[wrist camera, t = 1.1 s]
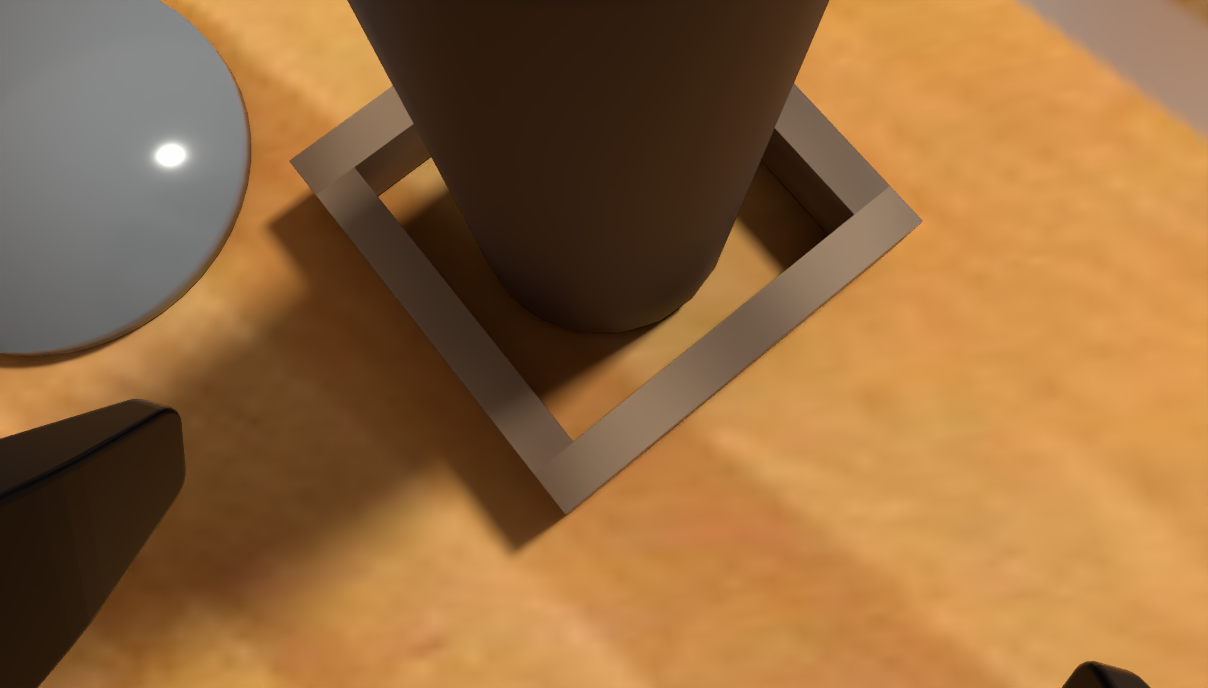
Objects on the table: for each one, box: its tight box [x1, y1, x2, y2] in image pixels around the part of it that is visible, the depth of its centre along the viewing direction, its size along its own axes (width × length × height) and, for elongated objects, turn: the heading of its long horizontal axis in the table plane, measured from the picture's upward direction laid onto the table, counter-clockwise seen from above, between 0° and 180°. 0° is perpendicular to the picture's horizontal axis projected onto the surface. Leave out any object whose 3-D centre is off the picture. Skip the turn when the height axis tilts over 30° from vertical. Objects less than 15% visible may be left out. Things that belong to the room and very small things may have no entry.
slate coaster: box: [0, 0, 251, 356], centre depth 22 cm, size 11×11×1 cm
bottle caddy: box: [290, 84, 923, 514], centre depth 21 cm, size 11×11×2 cm
